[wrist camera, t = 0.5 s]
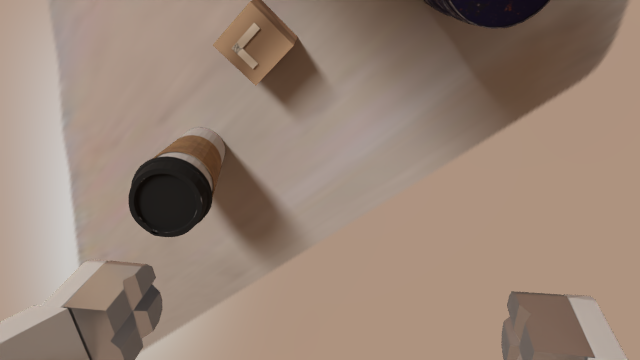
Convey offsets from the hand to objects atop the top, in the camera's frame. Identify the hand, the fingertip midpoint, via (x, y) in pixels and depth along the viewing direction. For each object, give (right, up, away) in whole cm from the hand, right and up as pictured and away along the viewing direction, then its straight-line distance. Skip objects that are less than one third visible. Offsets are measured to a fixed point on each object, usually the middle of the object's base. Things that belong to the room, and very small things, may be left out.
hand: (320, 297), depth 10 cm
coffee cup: (-15, +7, +48) cm, 50 cm away
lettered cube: (-7, +19, +41) cm, 46 cm away
